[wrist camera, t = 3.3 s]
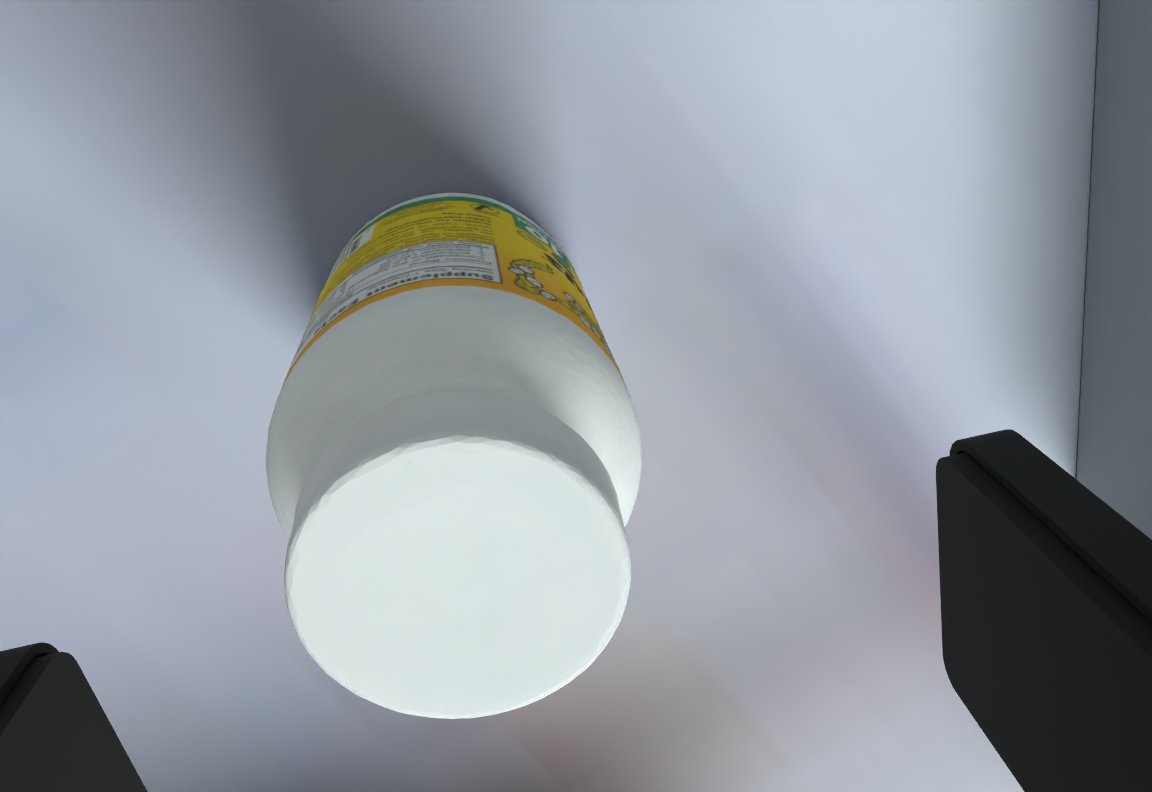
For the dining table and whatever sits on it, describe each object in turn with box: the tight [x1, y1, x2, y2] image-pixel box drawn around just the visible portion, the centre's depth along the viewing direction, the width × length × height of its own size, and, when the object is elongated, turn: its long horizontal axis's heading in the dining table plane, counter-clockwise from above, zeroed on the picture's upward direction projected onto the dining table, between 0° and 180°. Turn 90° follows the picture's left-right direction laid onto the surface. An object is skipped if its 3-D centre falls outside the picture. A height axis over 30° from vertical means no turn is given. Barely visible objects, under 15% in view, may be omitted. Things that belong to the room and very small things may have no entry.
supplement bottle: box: [266, 193, 642, 719], centre depth 15 cm, size 5×5×10 cm
